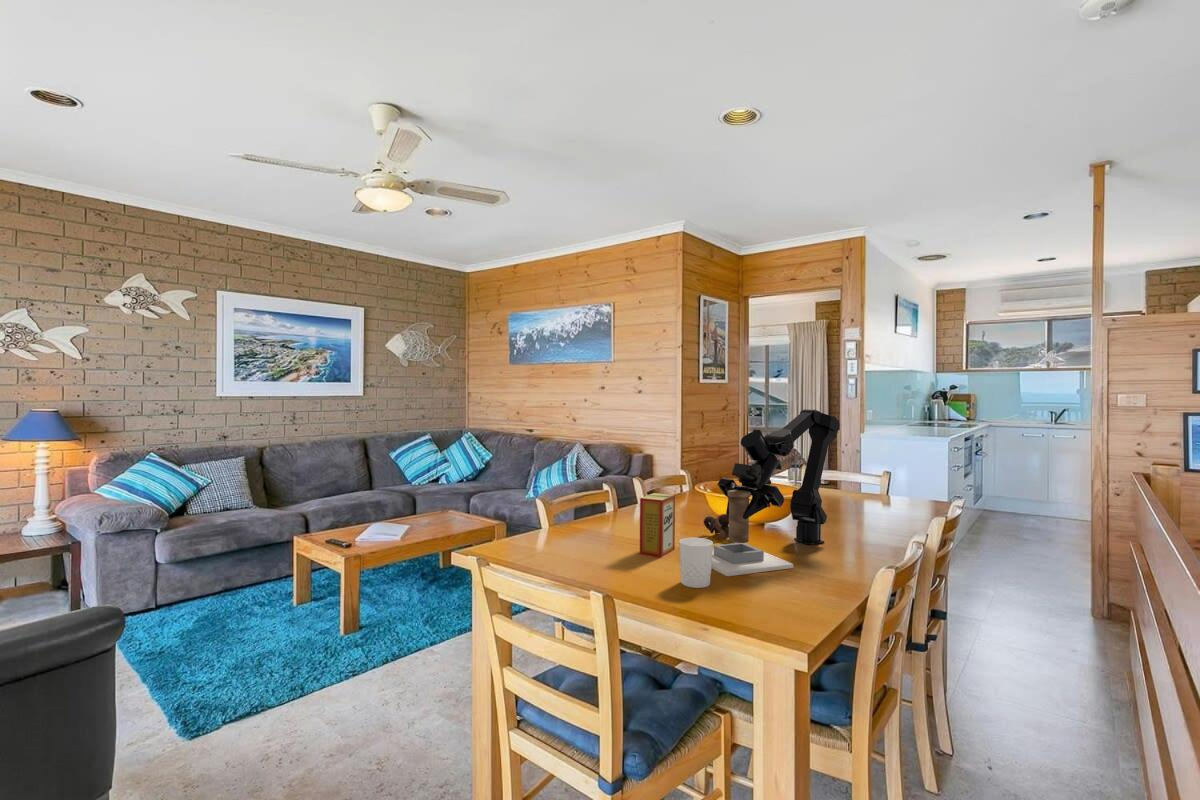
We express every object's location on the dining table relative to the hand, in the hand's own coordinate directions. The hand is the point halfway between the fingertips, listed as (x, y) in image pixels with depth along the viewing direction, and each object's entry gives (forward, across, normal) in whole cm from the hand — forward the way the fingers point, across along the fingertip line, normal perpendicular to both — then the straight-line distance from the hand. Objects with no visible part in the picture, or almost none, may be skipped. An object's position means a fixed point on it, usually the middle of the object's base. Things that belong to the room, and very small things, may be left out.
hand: (735, 516), depth 160 cm
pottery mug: (-4, -20, +22) cm, 30 cm away
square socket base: (+8, 0, +10) cm, 12 cm away
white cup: (+24, +6, -6) cm, 25 cm away
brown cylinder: (+4, 0, +6) cm, 7 cm away
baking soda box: (+15, -20, +2) cm, 25 cm away
